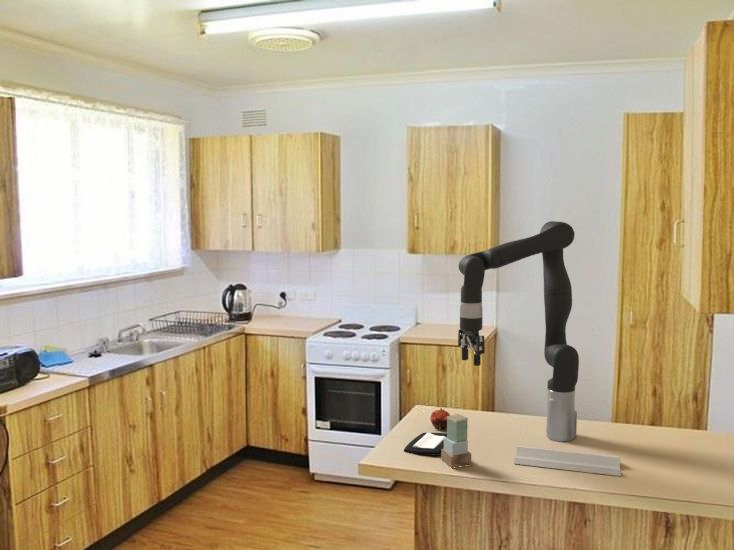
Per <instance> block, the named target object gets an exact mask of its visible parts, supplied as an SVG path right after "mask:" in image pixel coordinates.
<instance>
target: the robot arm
mask: <svg viewBox="0 0 734 550" xmlns="http://www.w3.org/2000/svg"><path fill="white" fill-rule="evenodd" d="M574 240H575V230H574V228H573V227H572V226H571V225H570V224H569V223H567V222H565V221H557V220H555V221H554V220H553V221H547V222H546V223H544V224H543V225H542V227H541V229H540V232H539V233H537V234H534V235H532V236H529V237H526V238H521V239H517V240H512V241H508V242H504V243H501V244H499V245H497V246H496V245H495V246H493V247H491V248H489V249H487V250H482V251H478V252H474V253H471V254H467V255H464V257H462V258H461V259H460V261H459V263H458V270H459V271H460V273H461V274H462V275H464V276H463V285H461V288H460V307H459V328H460V329H458V331H457V333H458V334H457V335H458V336H457V339H458V340H457V346H458V347H460V349H461V361H468V360H469V348H470V349H471V350H472V352H473V366H475V367H480V366H481V365H482V364H481V362H482V361H481V359H482V357H481V356H482V355H483V354H485V352H486V351H485V350H486V349H485V347H486V346H485V335H480V331H482V330H483V319H484V318H483V311H484V310H483V309H484V308H483V291H482V289H483V286H484V281H485V272H486V270H491V269H492V270H496V269H498V268H502V267H505V266H507V265H510V264H513V263H515V262H517V261H520V260H524V259H526V258H529V257H531V256H535V255H539V254H541V255H542V257H541V258H542V266H543V267H542V268H543V269H542V270H543V271H542V272H543V298H544V299H543V303H544V322H545V335H544V336H545V337H544V338H545V339H544V352H543V354H544V360H545V361H546V363H547V364H548V365H549V366H550V367H552V368H553V369H552V377H551V378H549V379H548V380H547V389H546V391H547V393H546V395H547V396H546V398H547V399H546V437H547V438H548V439H550V440H553V441H557V442H569V441H573V440H574V439H576V438H577V423H578V420H577V419H578V411H577V410H575V407H576V406H575V405H576V404H575V402H576V401H575V400H576V394H575V393H576V386H577V383H578V378H579V369H580V368H579V367H580V357H579V353H578V351H577V349H576V348H575V347H574V346H572V345H569V344H568V343H567V337H566V335H567V333H566V332H567V331H566V328H567V323H568V320H569V317H570V314H571V311H572V308H573V292H572V291H573V290H572V283H571V280H570V276H569V274H568V271H567V269H566V266H565V261H564V249H566V248H568V247H569V246H571V245H572V244H573V242H574Z"/></svg>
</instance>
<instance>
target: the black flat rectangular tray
mask: <svg viewBox="0 0 734 550" xmlns="http://www.w3.org/2000/svg"><path fill="white" fill-rule="evenodd" d="M445 437H447V432H422V433H420V434H419V435H418V436H416V437H415V438H413V439H412V440H411V441H410V442H409V443H408V444H407V445H405V447H404V449H403V452H404V453H408V454H411V453H412V454H411V455H416V456H419V455H420V456H441V449H444V438H445Z"/></svg>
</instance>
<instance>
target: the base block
mask: <svg viewBox="0 0 734 550" xmlns="http://www.w3.org/2000/svg"><path fill="white" fill-rule="evenodd" d="M440 457H441V460H442V463H444V462H445V463H446V464H447V465H448V467H449V466H450V467H451V468H452V469H455V468H454V467H458V468H460V467H459V466H464V467H466V466H465V465H471V466H472V453H471V452H470V451H468V453H466V454H460V455H454V456H452V455H450V454H449V453H448V452H446V451H445V450H444V449H441V454H440ZM445 463H444V464H445ZM446 464H445V465H446ZM447 465H446V466H447ZM450 467H449V468H450ZM451 468H450V469H451Z"/></svg>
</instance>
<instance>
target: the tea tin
mask: <svg viewBox="0 0 734 550" xmlns="http://www.w3.org/2000/svg"><path fill="white" fill-rule="evenodd" d="M468 420H469V417H467V416H465V415H461V414H459V413H457V414H452V415H451V414H450V416H447V427H446V433H447V439H449V440H452V441H454V442H456V443H457V442H461V441H464V440H467V441H468Z"/></svg>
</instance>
